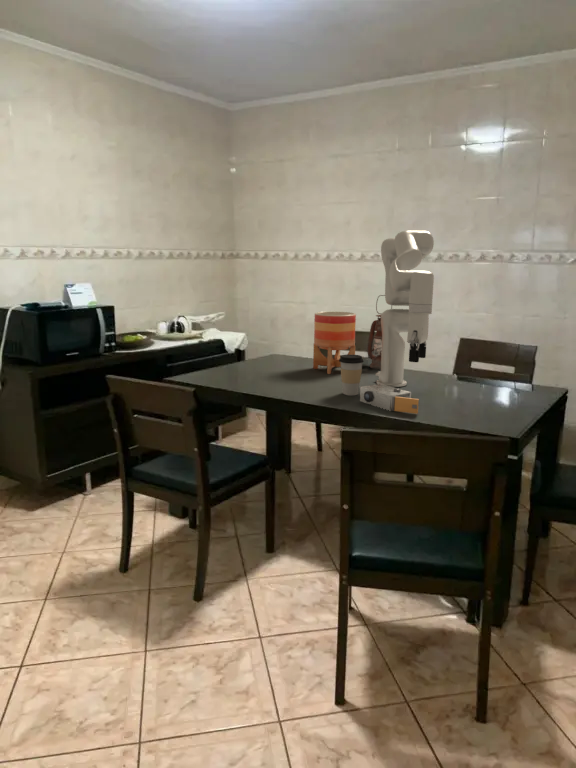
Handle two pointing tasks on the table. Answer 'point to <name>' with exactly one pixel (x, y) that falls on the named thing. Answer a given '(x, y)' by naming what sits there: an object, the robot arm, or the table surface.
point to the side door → (405, 404)
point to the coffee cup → (351, 373)
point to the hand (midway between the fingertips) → (417, 359)
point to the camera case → (381, 395)
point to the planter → (333, 337)
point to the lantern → (375, 327)
